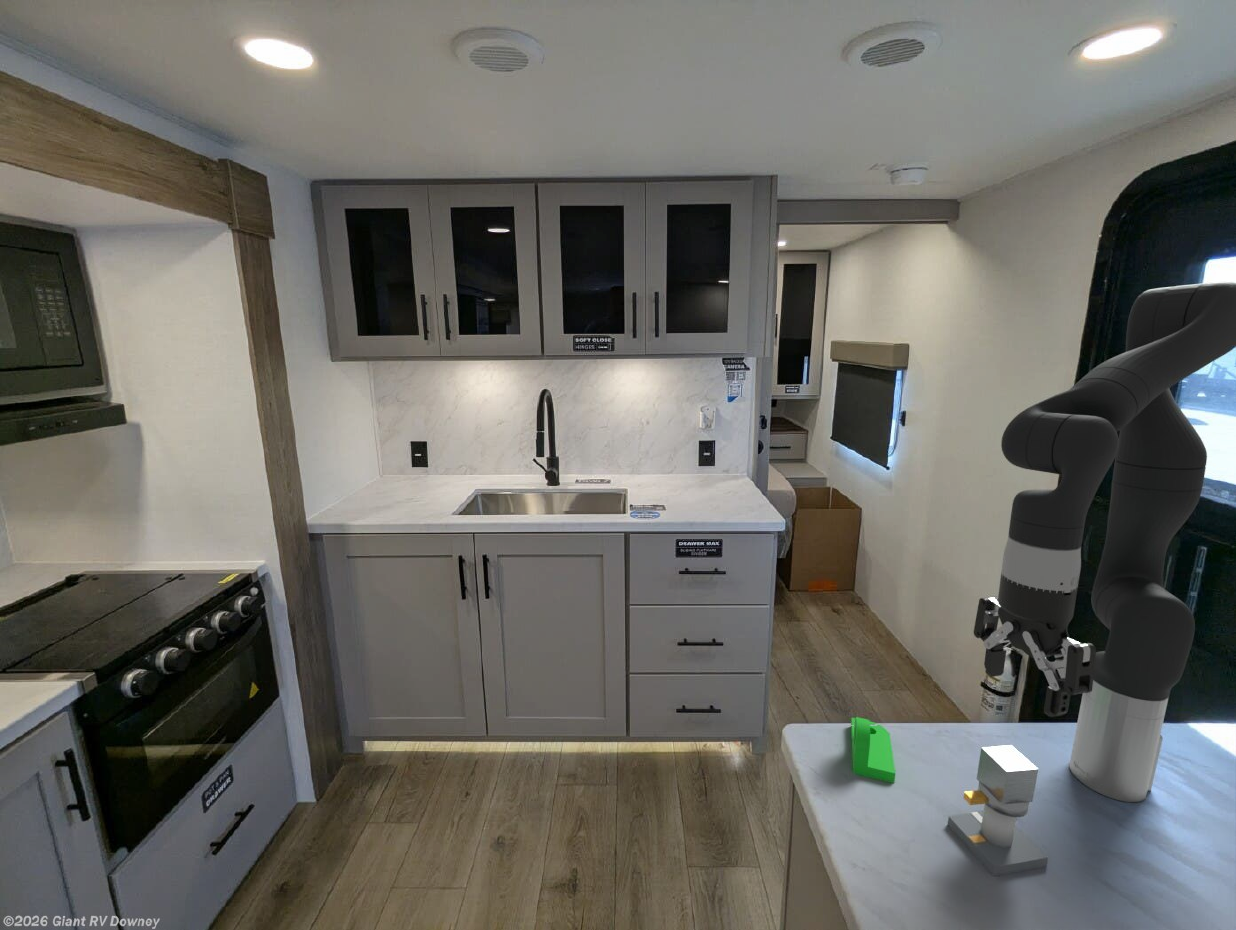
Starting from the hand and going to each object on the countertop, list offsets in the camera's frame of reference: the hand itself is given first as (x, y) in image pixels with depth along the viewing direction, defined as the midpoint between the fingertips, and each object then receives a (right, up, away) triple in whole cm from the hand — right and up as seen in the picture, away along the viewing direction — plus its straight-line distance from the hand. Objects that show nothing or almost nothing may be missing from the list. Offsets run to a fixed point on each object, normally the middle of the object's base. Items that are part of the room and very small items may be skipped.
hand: (1022, 693), depth 70 cm
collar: (-1, -16, +4) cm, 16 cm away
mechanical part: (-9, -20, +23) cm, 32 cm away
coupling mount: (0, -23, +5) cm, 24 cm away
